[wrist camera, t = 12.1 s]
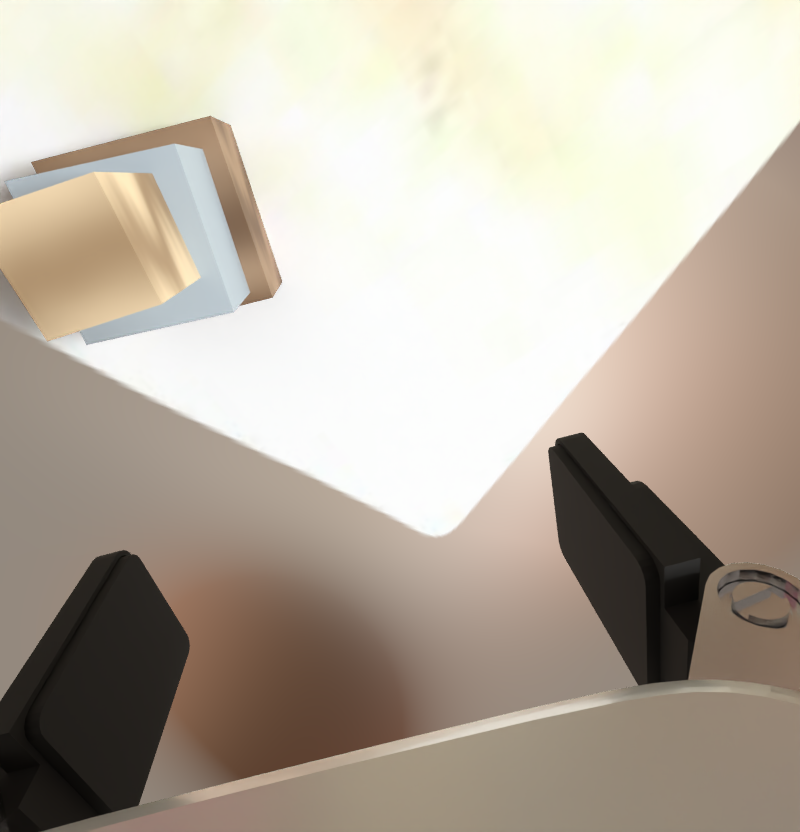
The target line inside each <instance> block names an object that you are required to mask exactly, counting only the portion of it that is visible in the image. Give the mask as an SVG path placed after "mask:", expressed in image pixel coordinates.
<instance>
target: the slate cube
mask: <svg viewBox="0 0 800 832" xmlns="http://www.w3.org/2000/svg"><path fill="white" fill-rule="evenodd" d="M92 172H121V173H152V174H153V176H154V178H155V180H156V182H157V185H158V187H159V189H160V191H161V193H162V195H163V197H164V200H165V202H166V204H167V206H168V208H169V210H170V212H171V214H172V217H173V219H174V221H175V223H176V225H177V227H178V229H179V232H180V234H181V236H182V238H183V240H184V242H185V244H186V246H187V249H188V251H189V253H190V255H191V257H192V259H193V261H194V263H195V266H196V268H197V270H198V272H199V274H200V276H201V278H200V279H198V280H197V281H195V282H194V283H192V284H191V285H189V286H188V287H186V288H185V289H183V290H182V291H181V292H179V293H178V294H176V295H175V296H173V297H172V298H170V299H169V300H167V301H166V302H164V303H163V304H161V305H158V306H155V307H152V308H148V309H145V310H142V311H139V312H136V313H133V314H130V315H127V316H124V317H121V318H118V319H115V320H112V321H109V322H106V323H102V324H99V325H96V326H93V327H90V328H87V329H84V330H81V331H80V333H81V335H82V337H83V339H84V341H85V343H86V345H88V344H93V343H97V342H102V341H106V340H111V339H115V338H120V337H124V336H129V335H133V334H138V333H142V332H147V331H151V330H156V329H160V328H165V327H169V326H174V325H178V324H183V323H187V322H192V321H196V320H201V319H205V318H210V317H214V316H219V315H223V314H228V313H232V312H234V311H235V310H236V309H237V308H238V307H239V305H240V304H241V303H242V302H243V301H244V299H245V298H246V297H247V296H248V295H249V293H250V290H249V287H248V284H247V281H246V278H245V275H244V272H243V269H242V266H241V263H240V260H239V257H238V254H237V251H236V248H235V245H234V242H233V239H232V236H231V233H230V230H229V227H228V224H227V221H226V218H225V215H224V212H223V209H222V206H221V203H220V200H219V197H218V194H217V191H216V188H215V185H214V182H213V179H212V176H211V173H210V170H209V167H208V164H207V161H206V158H205V155H204V152H203V149H199V148H194V147H189V146H184V145H179V144H170V145H166V146H161V147H157V148H152V149H148V150H143V151H139V152H134V153H130V154H125V155H121V156H116V157H112V158H107V159H103V160H98V161H93V162H89V163H84V164H80V165H75V166H71V167H66V168H62V169H57V170H53V171H48V172H44V173H39V174H35V175H30V176H26V177H21V178H17V179H12V180H8V181H5V183H6V185H7V187H8V189H9V191H10V193H11V195H12V197H13V199H15V198H18V197H21V196H24V195H27V194H30V193H33V192H36V191H39V190H41V189H44V188H47V187H50V186H53V185H56V184H59V183H62V182H65V181H68V180H71V179H74V178H77V177H80V176H83V175H86V174H89V173H92Z"/></svg>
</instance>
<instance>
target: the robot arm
mask: <svg viewBox="0 0 800 832" xmlns="http://www.w3.org/2000/svg"><path fill="white" fill-rule="evenodd" d="M548 453H549V462H550V471H551V479H552V487H553V496H554V505H555V513H556V521H557V530H558V538H559V544H560V548H561V550H562V553H563V555H564V557H565V559H566V561H567V563H568V564H569V566H570V568H571V570H572V571H573V573H574V575H575V576H576V578H577V580H578V582H579V583H580V585H581V587H582V588H583V590H584V592H585V594H586V595H587V597H588V599H589V600H590V602H591V604H592V606H593V607H594V609H595V611H596V613H597V615H598V616H599V618H600V620H601V621H602V623H603V625H604V627H605V628H606V630H607V632H608V633H609V635H610V637H611V639H612V640H613V642H614V644H615V646H616V647H617V649H618V651H619V652H620V654H621V656H622V658H623V660H624V661H625V663H626V665H627V666H628V668H629V670H630V671H631V673H632V675H633V677H634V678H635V680H636V682H637V684H638V685H639V686H634V687H628V688H622V689H617V690H611V691H605V692H601V693H596V694H592V695H588V696H583V697H579V698H574V699H570V700H565V701H561V702H556V703H553V704H548V705H543V706H539V707H535V708H530V709H525V710H521V711H517V712H512V713H509V714H504V715H500V716H496V717H492V718H488V719H484V720H480V721H476V722H472V723H468V724H463V725H459V726H455V727H451V728H447V729H443V730H439V731H435V732H430V733H426V734H423V735H418V736H414V737H410V738H406V739H402V740H398V741H394V742H389V743H385V744H382V745H377V746H373V747H369V748H365V749H361V750H357V751H353V752H349V753H345V754H341V755H337V756H334V757H329V758H325V759H321V760H317V761H313V762H309V763H305V764H301V765H297V766H293V767H289V768H285V769H281V770H277V771H273V772H269V773H265V774H261V775H257V776H253V777H249V778H245V779H241V780H237V781H233V782H229V783H225V784H222V785H217V786H213V787H210V788H206V789H202V790H198V791H194V792H190V793H186V794H182V795H178V796H175V797H171V798H167V799H163V800H159V801H155V802H151V803H147V804H143V805H139V802H140V799H141V796H142V793H143V790H144V787H145V784H146V781H147V778H148V775H149V772H150V769H151V766H152V763H153V760H154V757H155V754H156V751H157V748H158V745H159V742H160V739H161V736H162V732H163V729H164V726H165V723H166V720H167V717H168V714H169V711H170V708H171V705H172V702H173V699H174V696H175V693H176V690H177V687H178V684H179V681H180V678H181V675H182V672H183V669H184V666H185V663H186V659H187V657H188V653H189V647H190V645H189V638H188V636H187V634H186V632H185V631H184V629H183V627H182V626H181V624H180V622H179V621H178V619H177V618H176V616H175V614H174V613H173V611H172V609H171V608H170V606H169V605H168V603H167V602H166V600H165V598H164V597H163V595H162V593H161V592H160V590H159V589H158V587H157V585H156V584H155V582H154V580H153V579H152V577H151V576H150V574H149V572H148V571H147V569H146V568H145V566H144V564H143V563H142V561H141V560H140V558H139V557H138V556H137V555H131V554H130V553H129V552H128V551H125V550H123V551H118V552H114V553H111V554H106V555H103V556H99V557H97V558H95V559H94V560H93V561H92V563H91V564H90V566H89V567H88V569H87V571H86V572H85V574H84V575H83V577H82V578H81V580H80V581H79V583H78V584H77V586H76V587H75V589H74V590H73V592H72V593H71V595H70V596H69V598H68V599H67V601H66V602H65V604H64V605H63V607H62V608H61V610H60V612H59V613H58V615H57V616H56V618H55V619H54V621H53V622H52V624H51V625H50V627H49V628H48V630H47V631H46V633H45V634H44V636H43V637H42V639H41V640H40V642H39V643H38V645H37V646H36V648H35V650H34V651H33V653H32V654H31V656H30V657H29V659H28V660H27V662H26V663H25V665H24V666H23V668H22V669H21V671H20V672H19V674H18V675H17V677H16V679H15V680H14V681H13V683H12V684H11V686H10V687H9V689H8V690H7V692H6V694H5V695H4V697H3V698H2V700H1V701H0V832H800V580H799V579H798V578H796V577H794V576H792V575H790V574H788V573H786V572H784V571H782V570H780V569H777V568H774V567H770V566H767V565H763V564H755V563H748V562H745V563H731V564H728V565H724V564H723V563H722V562H721V561H720V560H719V559H718V558H717V557H716V556H715V555H714V554H713V553H712V552H711V551H710V550H709V549H708V548H707V547H706V546H705V545H704V544H703V543H702V542H701V541H700V540H699V539H698V538H697V536H696V535H695V534H693V532H692V531H691V530H690V529H689V528H688V527H687V526H686V525H685V524H684V523H683V522H682V521H681V520H680V519H679V518H678V517H677V516H676V515H675V514H674V513H673V512H672V511H671V510H670V509H669V508H668V507H667V506H666V505H665V504H664V503H663V502H662V501H661V500H660V499H659V498H658V497H657V496H656V495H655V494H654V493H653V492H652V491H651V490H650V489H649V488H648V486H646V485H645V484H644V483H642V482H640V481H635V482H631V483H630V482H629V481H628V480H627V479H626V478H625V477H624V476H623V474H622V473H620V471H619V470H618V469H617V468H616V467H615V466H614V465H613V464H612V463H611V462H610V461H609V460H608V458H606V456H605V455H604V454H603V453H602V452H601V451H600V450H599V449H598V448H597V447H596V446H595V445H594V444H593V443H592V441H591V440H590V439H589V438H588V437H587V436H586V435H585V434H584V433H578V434H574V435H570V436H566V437H562V438H558V439H557V440H556V443H555V446H554V447H550V448H549V450H548ZM138 805H139V806H138Z"/></svg>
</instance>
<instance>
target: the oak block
mask: <svg viewBox="0 0 800 832" xmlns="http://www.w3.org/2000/svg"><path fill="white" fill-rule="evenodd" d="M0 269H1V270H2V272H3V274H4V275H5V277H6V278H7V280H8V281H9V283H10V284H11V286H12V288H13V289H14V291H15V292H16V294H17V295H18V297H19V298H20V300H21V301H22V303H23V305H24V306H25V308H26V309H27V311H28V312H29V314H30V315H31V317H32V319H33V320H34V322H35V323H36V325H37V326H38V328H39V329H40V331H41V332H42V334H43V336H44V337H45V339H46V340H47V341H50V340H53V339H56V338H60V337H63V336H66V335H69V334H72V333H75V332H78V331H81V330H84V329H87V328H90V327H93V326H96V325H99V324H102V323H106V322H109V321H112V320H115V319H118V318H121V317H124V316H127V315H130V314H133V313H136V312H139V311H142V310H145V309H148V308H152V307H155V306H158V305H161V304H163V303H164V302H166V301H167V300H169V299H170V298H172V297H173V296H175V295H176V294H178V293H179V292H181V291H182V290H183V289H185V288H186V287H188V286H189V285H191V284H192V283H194V282H195V281H197V280H198V279H200V278H201V276H200V274H199V272H198V270H197V268H196V266H195V263H194V261H193V259H192V257H191V255H190V253H189V251H188V249H187V246H186V244H185V242H184V240H183V238H182V236H181V234H180V232H179V229H178V227H177V225H176V223H175V221H174V219H173V217H172V214H171V212H170V210H169V208H168V206H167V204H166V202H165V200H164V197H163V195H162V193H161V191H160V189H159V187H158V185H157V182H156V180H155V178H154V176H153V174H152V173H121V172H92V173H89V174H86V175H83V176H80V177H77V178H74V179H71V180H68V181H65V182H62V183H59V184H56V185H53V186H50V187H47V188H44V189H41V190H39V191H36V192H33V193H30V194H27V195H24V196H21V197H18V198H15V199H12V200H9V201H6V202H3V203H0Z"/></svg>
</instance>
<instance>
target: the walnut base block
mask: <svg viewBox="0 0 800 832" xmlns="http://www.w3.org/2000/svg"><path fill="white" fill-rule="evenodd" d="M170 144H179V145H184V146H189V147H194V148H199V149H203V152H204V155H205V158H206V161H207V164H208V167H209V170H210V173H211V176H212V179H213V182H214V185H215V188H216V191H217V194H218V197H219V200H220V203H221V206H222V209H223V212H224V215H225V218H226V221H227V224H228V227H229V230H230V233H231V236H232V239H233V242H234V245H235V248H236V251H237V254H238V257H239V260H240V263H241V266H242V269H243V272H244V275H245V278H246V281H247V284H248V287H249V290H250V293H249V295H248V296H247V297H246V298H245V299H244V301H243V302H242V303H241V304H240V305H239V306H241V305H245V304H249V303H253V302H257V301H261V300H265V299H269V298H273V296H274V294H275V293H276V291H277V289H278V288H279V286H280V285H281V283H282V280H281V277H280V274H279V271H278V268H277V265H276V262H275V258H274V255H273V252H272V249H271V246H270V243H269V240H268V237H267V234H266V231H265V228H264V225H263V222H262V219H261V216H260V213H259V210H258V207H257V204H256V201H255V198H254V195H253V192H252V189H251V186H250V183H249V180H248V177H247V174H246V171H245V168H244V165H243V162H242V159H241V156H240V152H239V149H238V146H237V143H236V140H235V137H234V134H233V131H232V128H231V125H229V124H227V123H224V122H222V121H220V120H218V119H216V118H213V117H211V116H209V117H205V118H201V119H197V120H193V121H189V122H185V123H181V124H177V125H174V126H170V127H166V128H162V129H158V130H154V131H150V132H146V133H142V134H139V135H135V136H131V137H127V138H123V139H119V140H115V141H111V142H108V143H104V144H100V145H96V146H92V147H88V148H84V149H80V150H76V151H73V152H69V153H65V154H61V155H57V156H53V157H49V158H45V159H42V160H38V161H34V162H31V163H32V165H33V167H34V169H35V171H36V173H37V174H39V173H44V172H48V171H53V170H57V169H62V168H66V167H71V166H75V165H80V164H84V163H89V162H93V161H98V160H103V159H107V158H112V157H116V156H121V155H125V154H130V153H134V152H139V151H143V150H148V149H152V148H157V147H161V146H166V145H170Z"/></svg>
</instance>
